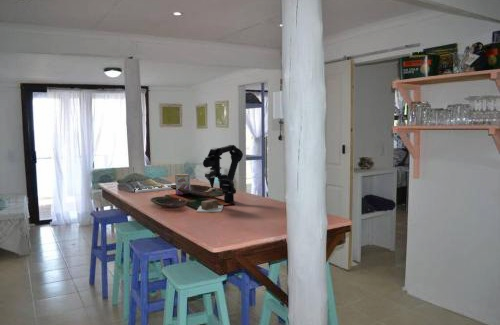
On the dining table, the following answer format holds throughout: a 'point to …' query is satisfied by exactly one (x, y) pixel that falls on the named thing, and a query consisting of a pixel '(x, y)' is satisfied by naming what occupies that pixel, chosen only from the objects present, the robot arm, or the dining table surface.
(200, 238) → the dining table surface
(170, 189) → the holder
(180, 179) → the candy bar box
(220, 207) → the grey mat
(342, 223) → the dining table surface
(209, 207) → the walnut block
